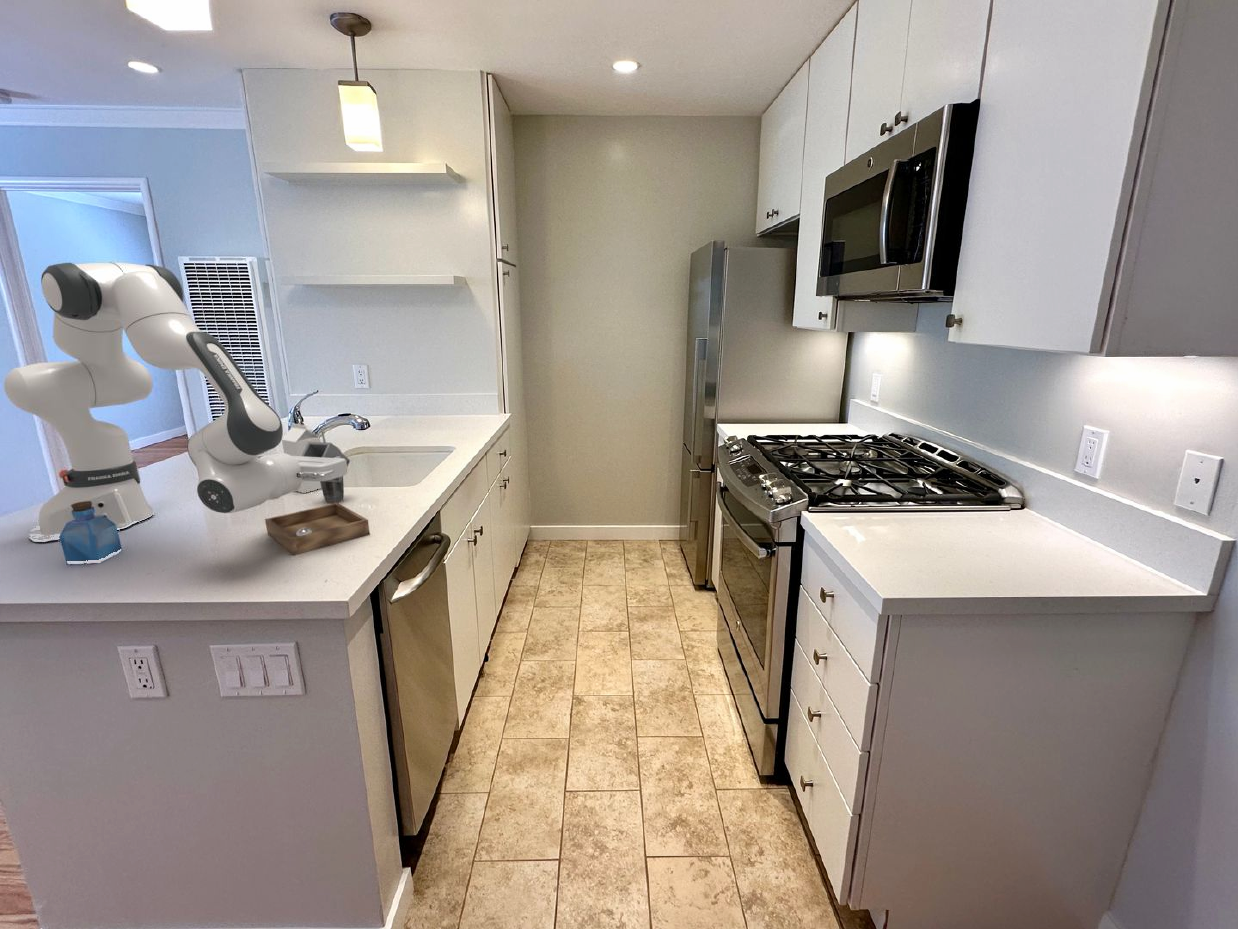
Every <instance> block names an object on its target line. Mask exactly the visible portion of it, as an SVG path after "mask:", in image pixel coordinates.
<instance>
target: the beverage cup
mask: <svg viewBox="0 0 1238 929" xmlns="http://www.w3.org/2000/svg"><path fill="white" fill-rule="evenodd" d="M320 432H321V437H322V442H325V443H327V442H326V438H325V434H324V428H320ZM333 445H334V444H333ZM334 446H335V447H336V448H337V449H338V450H339V451H340V452H341V453H342V454H343V452H342V450H341V449H340V448H339V447H338V446H336V445H334ZM320 483H321V487H322V489H321V492H322V495H323V498H324V501H326V502H327V504H335V502H337V503H340V502H339V501H341V500H343V498H344V494H345V490H344V488H345V487H344V477H343V478H342V480H341V482H327V481H320ZM344 499H345V498H344ZM343 501H344V500H343ZM326 502H325V503H326ZM341 502H342V501H341Z"/></svg>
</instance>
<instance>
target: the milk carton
mask: <svg viewBox="0 0 1238 929" xmlns="http://www.w3.org/2000/svg"><path fill="white" fill-rule="evenodd" d="M281 442H282V450H283V453H286V454H288V455H290V456H302V454H303V452H304V450H305V448H306V446H307V444H308V442H321V437H320V436H318V435H317V434H316V433H314V432H313V430H312V429H311V428H310V427H307V425H306V424H298V423H293V422H291V428H290V429H289V430H288V431H287V433H286V434H285V435H284V436H282V440H281ZM317 489H318V490H322V487H321V483H320V481H302V483H301V486H300V487H299V488H298V489H297V490H296V491H298V492H297V493H300V492H301V494H306V492H307V493H310V491H311V492H314V491H317ZM296 491H295V492H296Z"/></svg>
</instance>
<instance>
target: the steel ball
mask: <svg viewBox="0 0 1238 929" xmlns="http://www.w3.org/2000/svg"><path fill="white" fill-rule="evenodd" d="M309 533H313V532H312V530H310V529H309V528H301V529H299V530H298V531H297V532H296V534H295V537H298V536H302V535H305V534H309Z"/></svg>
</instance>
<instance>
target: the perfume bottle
mask: <svg viewBox="0 0 1238 929" xmlns="http://www.w3.org/2000/svg"><path fill="white" fill-rule="evenodd" d="M71 507H72V508H73V510H72V511H71V512H72V516H74V517H75V520H72V521H70V522H68V523H66V525H65V527H64V529H63V531H62V533H61V534H60V536H59V538H60V540H59V542H60V544H61V549H62V551H63V555H64V559H65V562H66V561H86V560H87V561H88V560H99V559H101V558H105V557H106V556H108V555H109V554H111V553H113V552H117V551H118V550H120V549H122V550H123V548H122V544H121V540H120V536H119V531H117V527H116V524H114V523H113V522H112V521H110V520H109V519H108V518H106V517H105V516H104V515H101V516H94V513H95V509H94V507H92V502H91V501H84V502H78V503H74V504H72V505H71Z"/></svg>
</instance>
